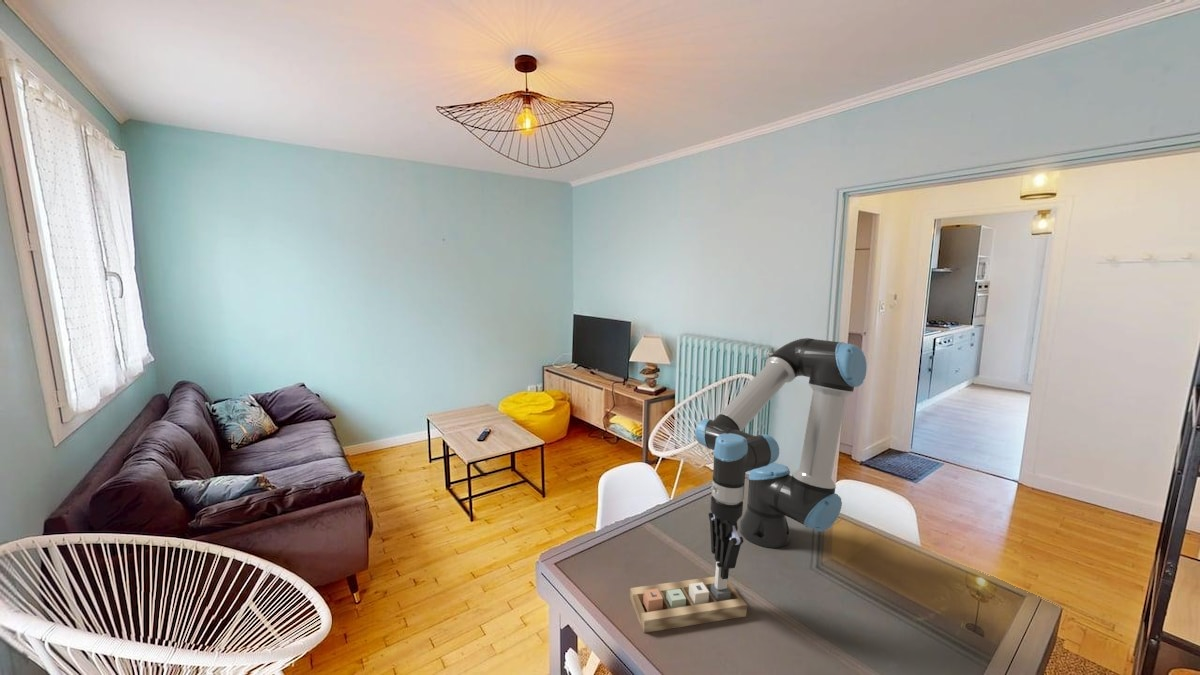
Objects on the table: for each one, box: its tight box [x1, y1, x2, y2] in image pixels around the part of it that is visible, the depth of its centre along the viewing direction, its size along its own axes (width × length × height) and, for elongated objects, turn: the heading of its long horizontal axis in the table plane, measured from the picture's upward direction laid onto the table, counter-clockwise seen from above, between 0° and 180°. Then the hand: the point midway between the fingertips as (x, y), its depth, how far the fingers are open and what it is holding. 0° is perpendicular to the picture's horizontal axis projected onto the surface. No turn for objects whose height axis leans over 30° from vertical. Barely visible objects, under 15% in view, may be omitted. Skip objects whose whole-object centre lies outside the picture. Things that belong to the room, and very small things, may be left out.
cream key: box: [689, 582, 709, 605], centre depth 109 cm, size 4×4×3 cm
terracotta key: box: [643, 588, 663, 612], centre depth 107 cm, size 4×4×3 cm
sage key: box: [666, 589, 686, 609], centre depth 108 cm, size 4×4×3 cm
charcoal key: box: [710, 584, 731, 602], centre depth 111 cm, size 4×4×3 cm
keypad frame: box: [629, 576, 748, 634], centre depth 109 cm, size 26×11×3 cm, turn 103°
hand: (720, 586), depth 111 cm, fingers closed
